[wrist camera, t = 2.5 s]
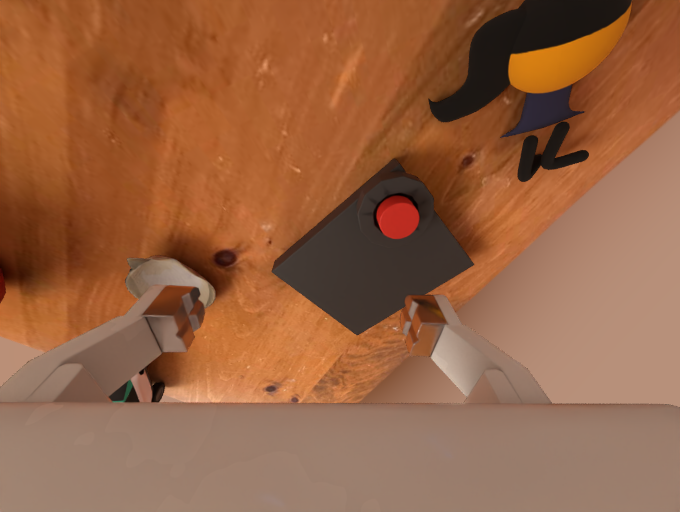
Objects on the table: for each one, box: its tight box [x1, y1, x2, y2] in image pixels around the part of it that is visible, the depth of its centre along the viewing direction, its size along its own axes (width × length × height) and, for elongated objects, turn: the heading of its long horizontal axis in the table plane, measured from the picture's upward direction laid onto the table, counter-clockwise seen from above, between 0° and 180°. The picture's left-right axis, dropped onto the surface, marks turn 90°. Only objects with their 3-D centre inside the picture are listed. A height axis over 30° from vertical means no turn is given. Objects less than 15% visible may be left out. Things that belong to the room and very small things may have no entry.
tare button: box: [376, 195, 419, 239], centre depth 20 cm, size 3×3×2 cm
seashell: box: [125, 255, 216, 308], centre depth 26 cm, size 8×3×8 cm
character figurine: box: [428, 0, 632, 182], centre depth 18 cm, size 10×6×12 cm
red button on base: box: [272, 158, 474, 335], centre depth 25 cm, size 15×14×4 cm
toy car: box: [109, 364, 165, 402], centre depth 33 cm, size 6×12×5 cm, turn 167°
